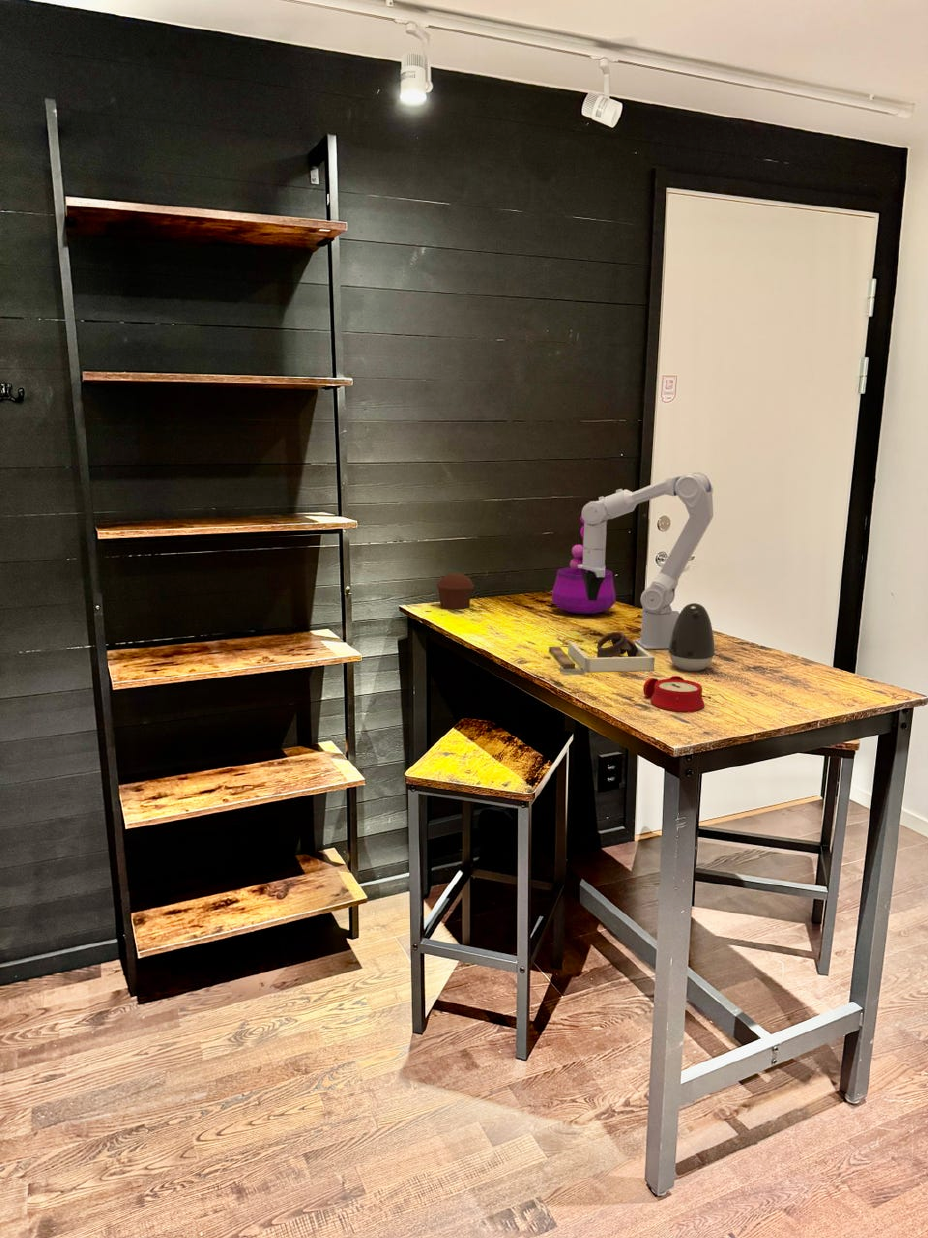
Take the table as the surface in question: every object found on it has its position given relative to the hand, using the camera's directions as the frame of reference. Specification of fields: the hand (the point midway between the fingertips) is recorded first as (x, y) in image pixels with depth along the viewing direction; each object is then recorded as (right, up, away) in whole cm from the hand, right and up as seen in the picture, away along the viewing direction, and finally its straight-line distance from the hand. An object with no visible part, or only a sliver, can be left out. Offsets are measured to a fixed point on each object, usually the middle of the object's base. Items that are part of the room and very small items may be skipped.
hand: (592, 600), depth 221 cm
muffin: (-36, -1, +38) cm, 52 cm away
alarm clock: (+9, -22, -50) cm, 55 cm away
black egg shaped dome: (+19, -16, -26) cm, 36 cm away
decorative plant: (+2, -3, +32) cm, 32 cm away
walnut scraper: (-10, -15, -22) cm, 29 cm away
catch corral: (+1, -15, -21) cm, 26 cm away
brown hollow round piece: (+3, -15, -20) cm, 26 cm away
